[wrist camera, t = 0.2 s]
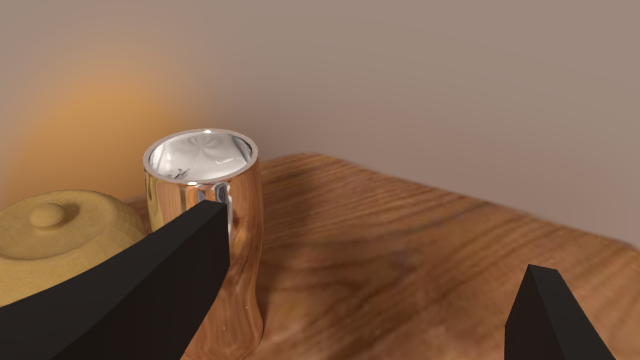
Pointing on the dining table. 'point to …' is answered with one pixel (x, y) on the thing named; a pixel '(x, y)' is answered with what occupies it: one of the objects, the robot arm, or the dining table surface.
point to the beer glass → (243, 225)
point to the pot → (60, 238)
